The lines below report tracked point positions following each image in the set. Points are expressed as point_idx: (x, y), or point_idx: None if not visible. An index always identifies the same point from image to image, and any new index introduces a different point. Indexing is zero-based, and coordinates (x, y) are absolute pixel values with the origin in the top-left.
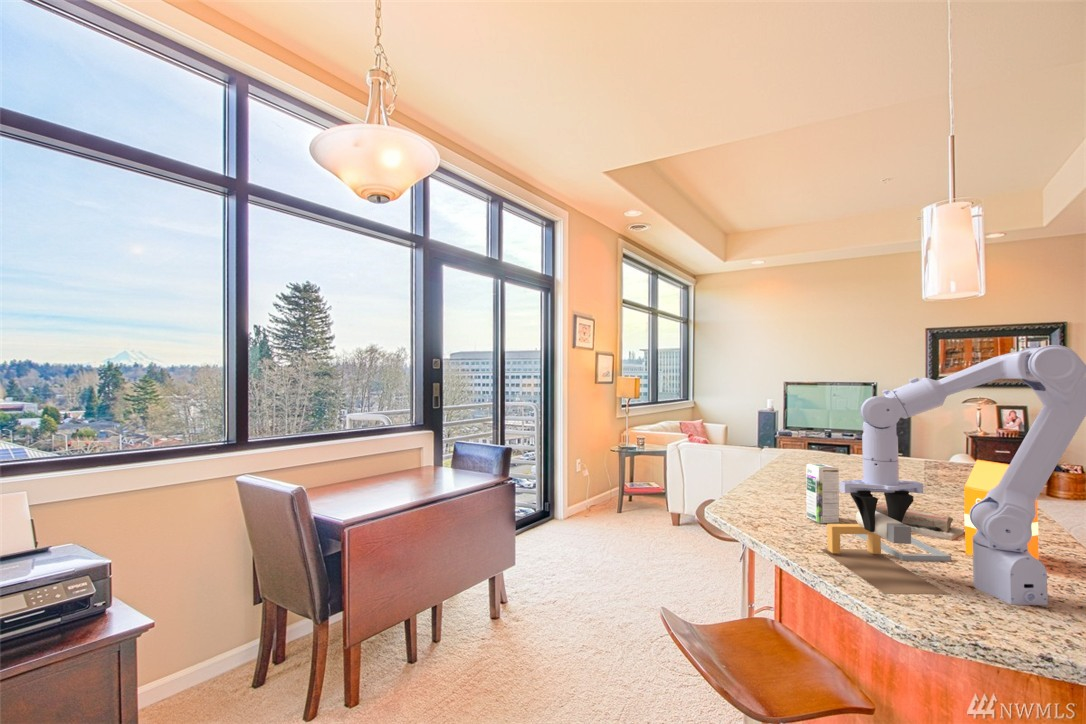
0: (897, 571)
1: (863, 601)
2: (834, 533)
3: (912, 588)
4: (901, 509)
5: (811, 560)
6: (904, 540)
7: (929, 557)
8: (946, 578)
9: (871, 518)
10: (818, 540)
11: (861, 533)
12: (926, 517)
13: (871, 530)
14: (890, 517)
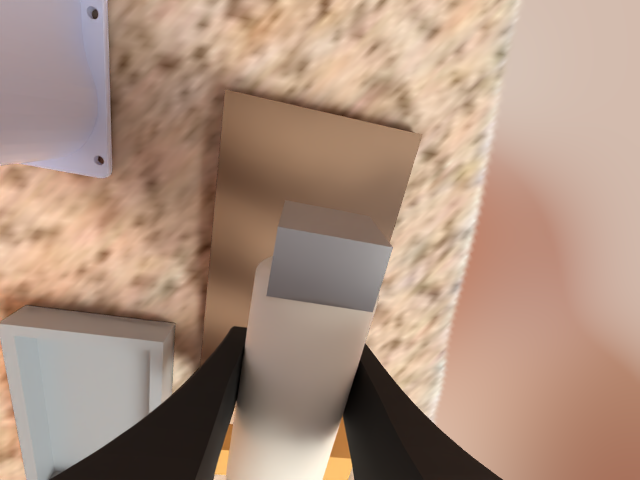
0: (249, 266)
1: (480, 133)
2: (343, 434)
3: (308, 151)
4: (199, 418)
5: (389, 373)
6: (319, 210)
7: (77, 328)
8: (112, 231)
9: (394, 386)
10: None
11: None
12: None
13: (366, 345)
14: (229, 413)
